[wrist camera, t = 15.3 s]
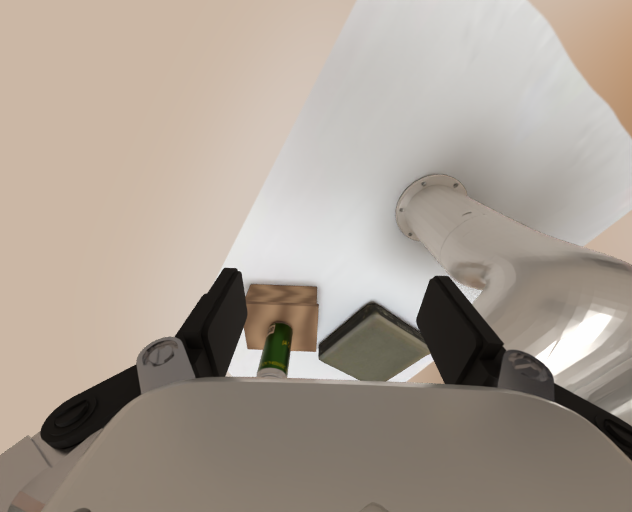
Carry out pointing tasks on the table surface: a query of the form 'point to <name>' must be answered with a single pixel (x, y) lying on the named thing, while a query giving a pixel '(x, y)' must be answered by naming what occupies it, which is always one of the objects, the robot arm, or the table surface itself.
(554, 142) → the table surface
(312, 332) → the wooden block
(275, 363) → the beer can
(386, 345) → the network switch
